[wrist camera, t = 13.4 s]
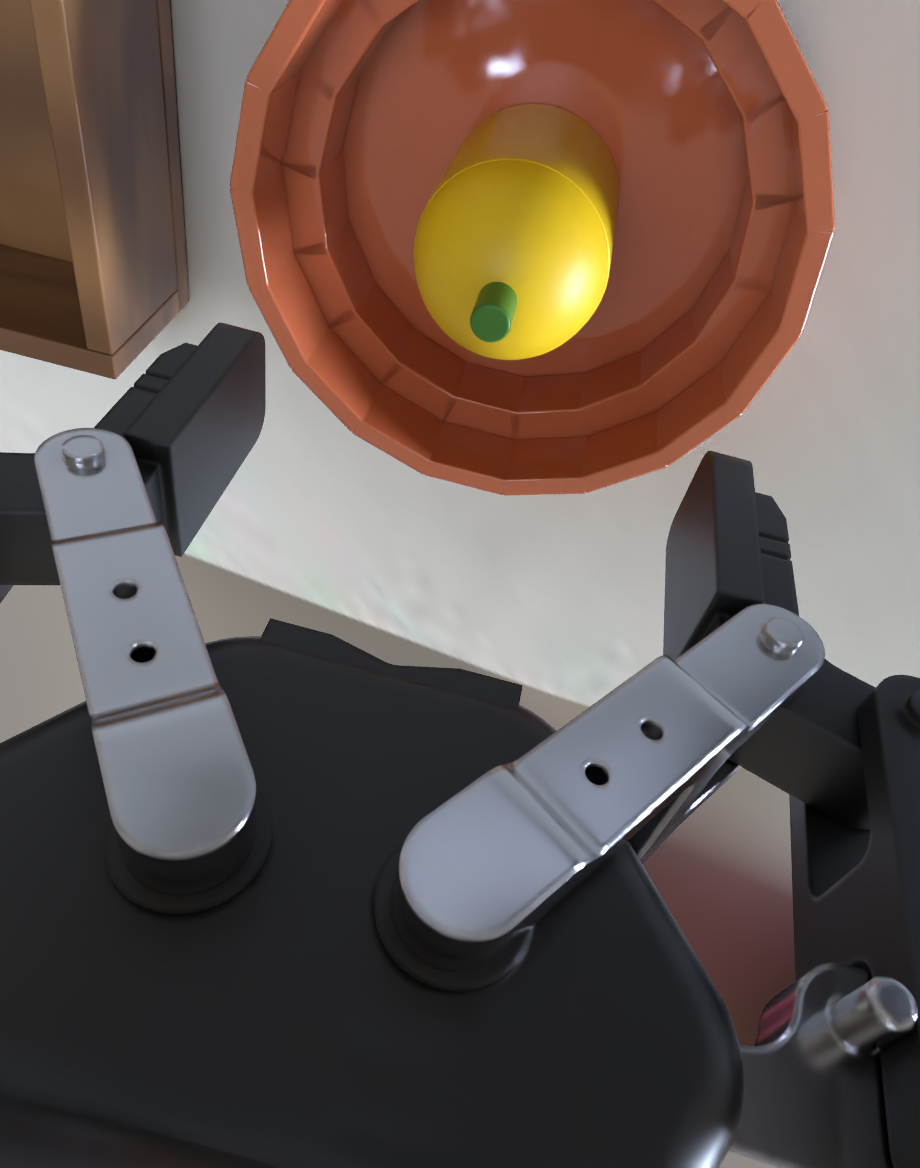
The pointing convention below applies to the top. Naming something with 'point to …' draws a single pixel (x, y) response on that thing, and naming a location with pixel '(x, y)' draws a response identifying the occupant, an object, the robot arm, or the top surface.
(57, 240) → the wooden tray
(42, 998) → the robot arm
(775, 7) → the bowl
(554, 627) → the top surface
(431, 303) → the pepper
